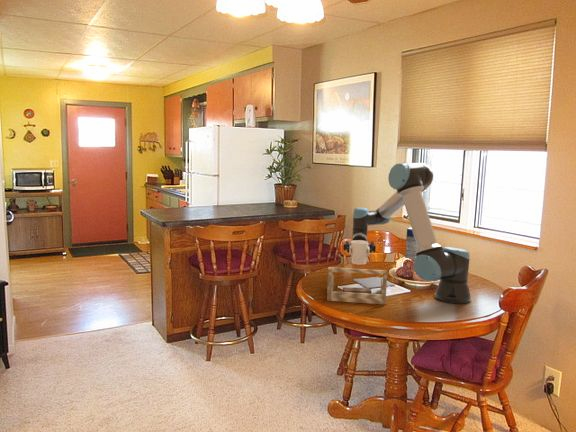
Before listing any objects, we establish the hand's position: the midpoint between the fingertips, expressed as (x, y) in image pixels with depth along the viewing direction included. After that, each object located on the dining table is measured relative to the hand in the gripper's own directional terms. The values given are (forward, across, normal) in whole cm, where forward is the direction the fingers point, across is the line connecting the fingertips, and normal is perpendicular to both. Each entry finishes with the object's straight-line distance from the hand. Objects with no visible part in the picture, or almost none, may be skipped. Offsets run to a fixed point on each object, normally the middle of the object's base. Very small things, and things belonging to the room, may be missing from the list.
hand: (359, 251), depth 215 cm
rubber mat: (-20, -8, -20) cm, 30 cm away
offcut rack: (+1, +1, -20) cm, 20 cm away
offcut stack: (+6, +1, -20) cm, 21 cm away
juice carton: (-48, -31, -20) cm, 61 cm away
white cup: (-3, 0, -6) cm, 7 cm away
